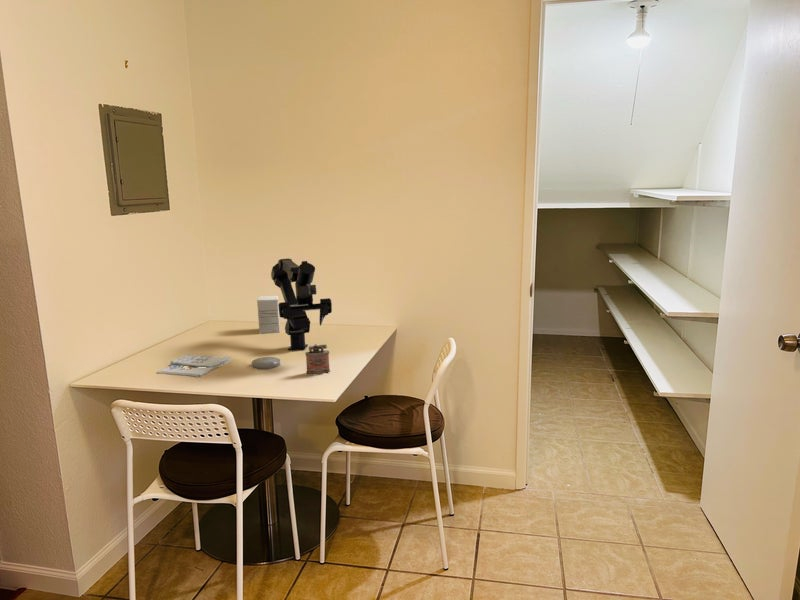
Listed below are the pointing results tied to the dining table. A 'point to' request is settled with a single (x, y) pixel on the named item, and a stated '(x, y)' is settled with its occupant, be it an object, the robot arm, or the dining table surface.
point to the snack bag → (196, 361)
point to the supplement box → (268, 314)
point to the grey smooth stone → (266, 363)
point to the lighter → (317, 360)
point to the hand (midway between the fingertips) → (307, 326)
